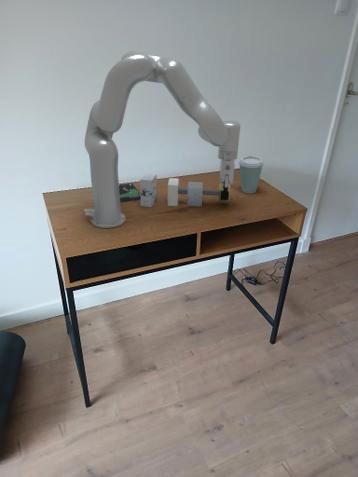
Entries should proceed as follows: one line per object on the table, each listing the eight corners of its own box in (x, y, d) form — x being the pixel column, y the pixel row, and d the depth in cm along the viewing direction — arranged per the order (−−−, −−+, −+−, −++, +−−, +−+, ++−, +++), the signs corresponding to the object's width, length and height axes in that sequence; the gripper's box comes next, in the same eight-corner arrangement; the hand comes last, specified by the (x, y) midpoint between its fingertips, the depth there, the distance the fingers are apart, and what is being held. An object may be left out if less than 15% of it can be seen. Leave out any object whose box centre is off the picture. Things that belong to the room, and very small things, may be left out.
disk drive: (110, 191, 165) (117, 203, 152) (110, 185, 163) (116, 197, 151) (133, 188, 168) (141, 200, 156) (132, 182, 166) (141, 194, 154)
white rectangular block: (167, 205, 151) (167, 185, 146) (169, 198, 157) (169, 178, 153) (177, 206, 150) (177, 185, 146) (178, 198, 157) (178, 178, 153)
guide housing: (187, 206, 151) (187, 187, 147) (187, 199, 157) (188, 181, 153) (201, 206, 150) (202, 188, 146) (201, 199, 156) (202, 182, 152)
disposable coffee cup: (262, 195, 162) (266, 162, 154) (237, 195, 162) (241, 162, 154) (257, 186, 171) (261, 155, 164) (234, 186, 171) (237, 155, 164)
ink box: (146, 198, 157) (145, 172, 151) (157, 199, 156) (157, 173, 150) (140, 206, 149) (139, 179, 144) (152, 207, 149) (151, 180, 143)
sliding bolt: (173, 200, 151) (173, 182, 147) (173, 196, 155) (174, 178, 151) (229, 203, 150) (231, 185, 146) (228, 198, 154) (230, 181, 150)
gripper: (239, 160, 135) (234, 205, 144) (235, 148, 150) (231, 189, 159) (219, 160, 135) (215, 205, 144) (217, 147, 150) (214, 189, 159)
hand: (224, 196), depth 151 cm, fingers closed on sliding bolt, 4 cm apart
